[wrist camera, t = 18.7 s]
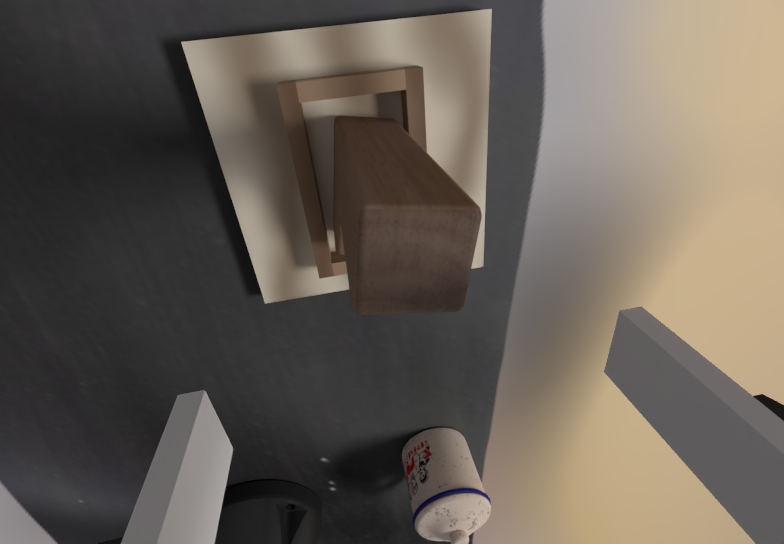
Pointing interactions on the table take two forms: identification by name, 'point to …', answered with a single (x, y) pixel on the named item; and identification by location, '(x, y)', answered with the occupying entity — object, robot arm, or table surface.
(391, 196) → the wooden block
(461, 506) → the teacup with lid
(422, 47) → the keyed plate
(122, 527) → the table surface
